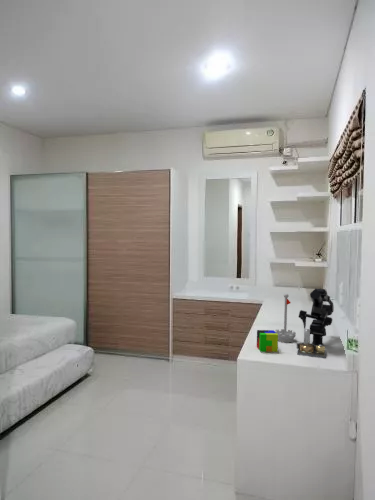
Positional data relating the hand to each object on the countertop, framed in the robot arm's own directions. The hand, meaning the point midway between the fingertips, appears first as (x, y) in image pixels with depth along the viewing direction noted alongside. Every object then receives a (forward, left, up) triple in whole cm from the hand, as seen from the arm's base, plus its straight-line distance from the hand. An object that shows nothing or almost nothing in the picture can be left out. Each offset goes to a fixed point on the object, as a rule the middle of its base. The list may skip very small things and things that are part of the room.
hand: (312, 330), depth 221 cm
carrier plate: (+7, 0, -11) cm, 13 cm away
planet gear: (+7, -3, -10) cm, 12 cm away
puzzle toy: (+10, -25, -12) cm, 29 cm away
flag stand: (-15, -18, -12) cm, 26 cm away
